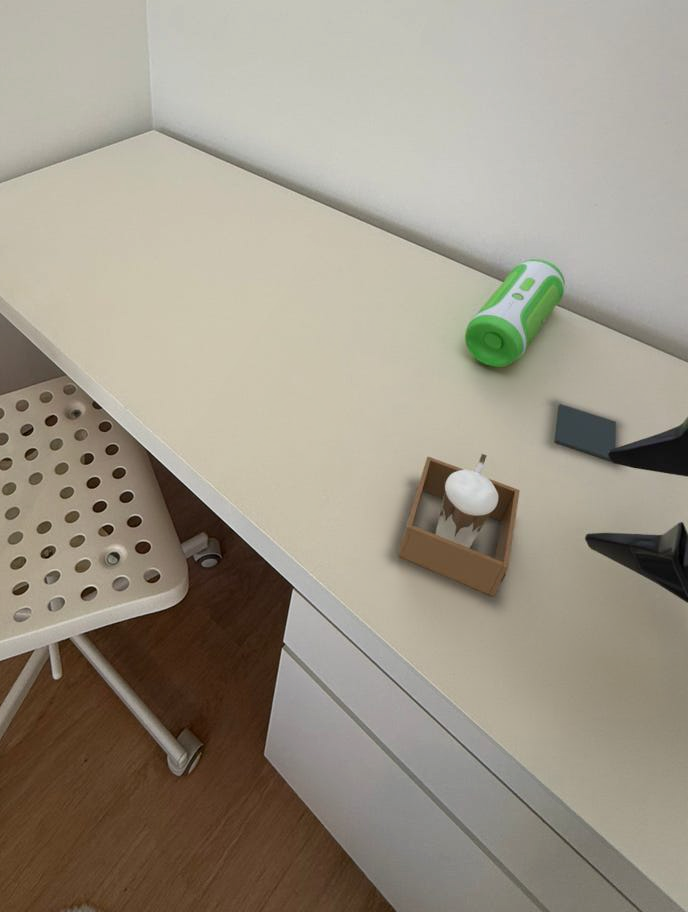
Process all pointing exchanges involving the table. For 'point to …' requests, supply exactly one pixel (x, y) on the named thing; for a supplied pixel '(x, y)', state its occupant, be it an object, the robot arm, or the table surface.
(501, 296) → the speaker
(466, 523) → the milkshake
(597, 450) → the mat
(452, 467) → the carton
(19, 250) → the table surface
